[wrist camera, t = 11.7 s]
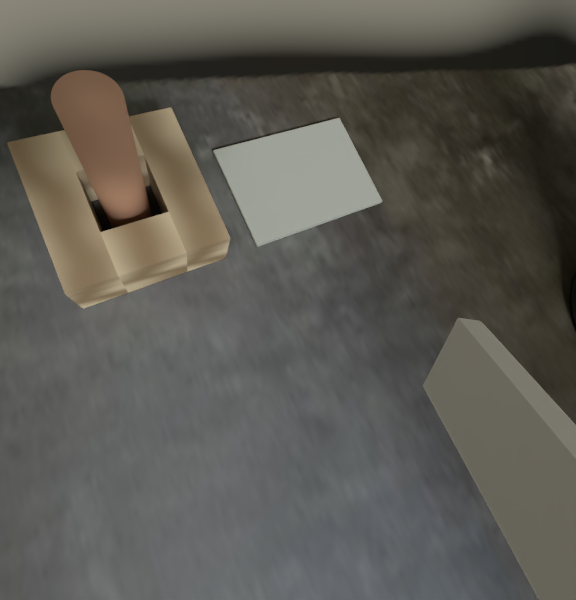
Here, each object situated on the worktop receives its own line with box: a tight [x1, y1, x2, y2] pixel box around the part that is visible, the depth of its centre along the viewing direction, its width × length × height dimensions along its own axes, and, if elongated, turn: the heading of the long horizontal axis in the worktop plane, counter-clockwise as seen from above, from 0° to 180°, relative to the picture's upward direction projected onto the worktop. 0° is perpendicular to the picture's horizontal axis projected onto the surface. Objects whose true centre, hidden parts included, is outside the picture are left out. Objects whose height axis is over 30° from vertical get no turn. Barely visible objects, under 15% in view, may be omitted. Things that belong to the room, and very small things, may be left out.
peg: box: [51, 70, 152, 228], centre depth 26 cm, size 3×3×14 cm
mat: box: [213, 118, 382, 247], centre depth 37 cm, size 14×10×1 cm
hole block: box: [7, 107, 230, 309], centre depth 30 cm, size 12×12×4 cm
